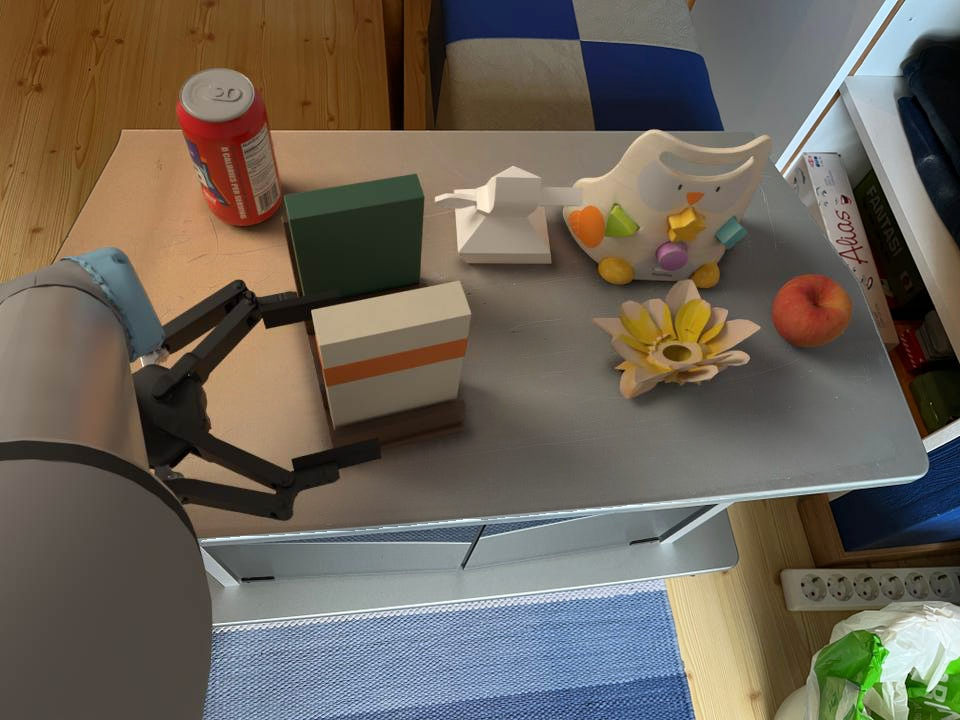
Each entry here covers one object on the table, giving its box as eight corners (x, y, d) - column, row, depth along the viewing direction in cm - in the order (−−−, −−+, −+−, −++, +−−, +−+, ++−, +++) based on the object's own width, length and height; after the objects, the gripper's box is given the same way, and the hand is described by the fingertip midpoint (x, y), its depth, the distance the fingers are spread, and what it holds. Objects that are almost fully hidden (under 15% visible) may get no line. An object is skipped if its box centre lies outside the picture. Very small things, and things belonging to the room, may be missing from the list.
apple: (838, 335, 80) (882, 295, 73) (799, 373, 77) (840, 335, 70) (785, 289, 82) (822, 246, 75) (744, 325, 79) (779, 284, 72)
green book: (419, 301, 75) (424, 196, 61) (309, 323, 72) (289, 220, 58) (412, 280, 76) (416, 172, 62) (304, 301, 73) (283, 194, 59)
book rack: (462, 431, 70) (476, 368, 58) (336, 462, 67) (323, 402, 56) (413, 276, 78) (417, 192, 66) (298, 298, 75) (280, 215, 63)
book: (454, 413, 69) (472, 314, 54) (336, 442, 67) (319, 346, 51) (445, 384, 71) (460, 279, 55) (329, 411, 68) (310, 309, 52)
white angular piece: (430, 209, 82) (436, 115, 70) (554, 211, 83) (582, 119, 71) (433, 273, 78) (440, 185, 66) (563, 273, 80) (594, 188, 68)
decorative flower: (712, 277, 79) (755, 241, 69) (748, 378, 77) (797, 355, 67) (580, 309, 77) (605, 276, 67) (613, 414, 75) (644, 395, 65)
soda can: (278, 233, 78) (255, 128, 65) (202, 228, 78) (163, 121, 64) (287, 176, 82) (267, 65, 69) (214, 171, 81) (179, 58, 68)
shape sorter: (569, 287, 79) (612, 172, 63) (561, 208, 84) (599, 84, 68) (746, 292, 81) (831, 182, 65) (728, 215, 86) (803, 96, 70)
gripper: (82, 319, 63) (330, 272, 68) (108, 611, 53) (398, 531, 58) (46, 269, 57) (323, 220, 62) (67, 592, 46) (398, 503, 51)
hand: (360, 371), depth 60 cm, fingers open, 13 cm apart
